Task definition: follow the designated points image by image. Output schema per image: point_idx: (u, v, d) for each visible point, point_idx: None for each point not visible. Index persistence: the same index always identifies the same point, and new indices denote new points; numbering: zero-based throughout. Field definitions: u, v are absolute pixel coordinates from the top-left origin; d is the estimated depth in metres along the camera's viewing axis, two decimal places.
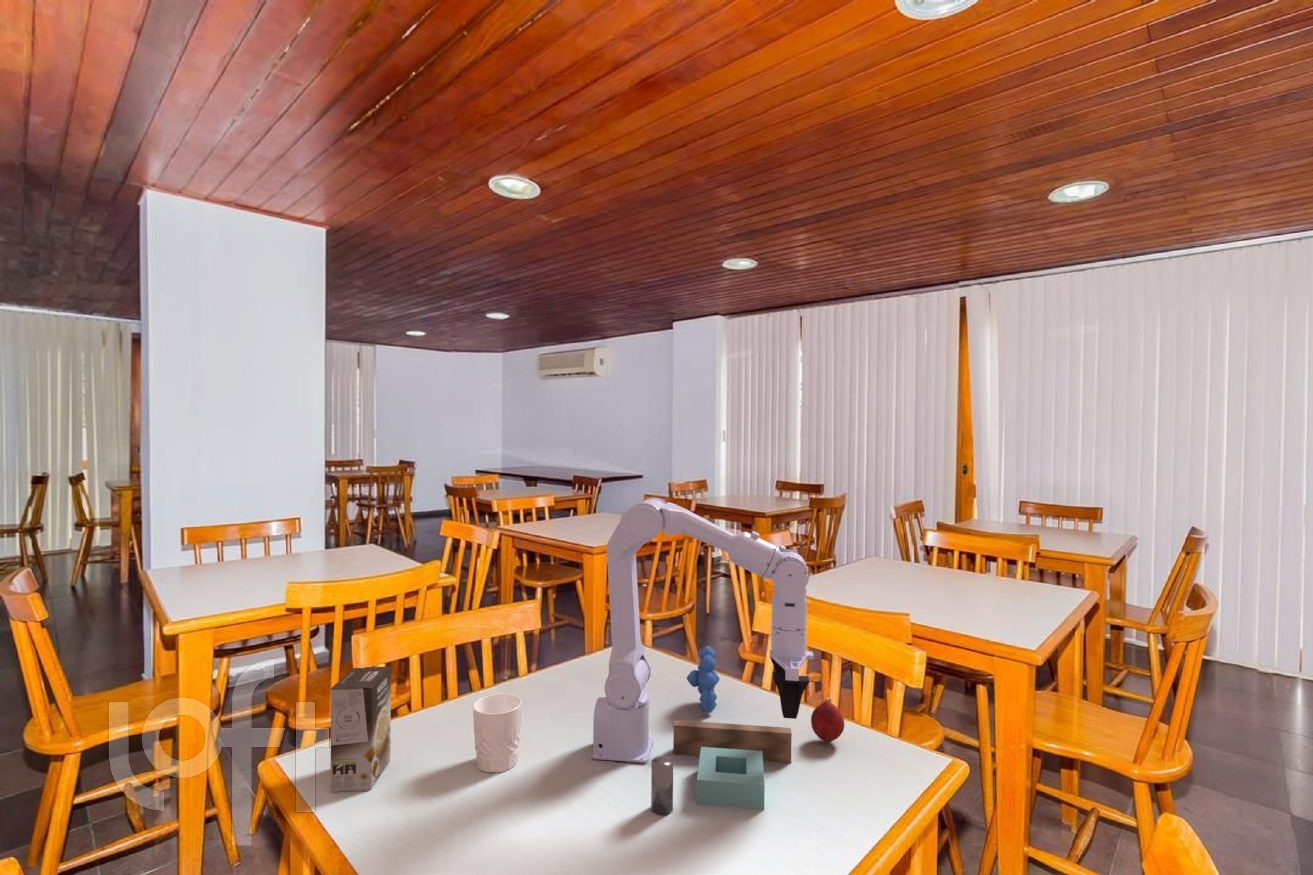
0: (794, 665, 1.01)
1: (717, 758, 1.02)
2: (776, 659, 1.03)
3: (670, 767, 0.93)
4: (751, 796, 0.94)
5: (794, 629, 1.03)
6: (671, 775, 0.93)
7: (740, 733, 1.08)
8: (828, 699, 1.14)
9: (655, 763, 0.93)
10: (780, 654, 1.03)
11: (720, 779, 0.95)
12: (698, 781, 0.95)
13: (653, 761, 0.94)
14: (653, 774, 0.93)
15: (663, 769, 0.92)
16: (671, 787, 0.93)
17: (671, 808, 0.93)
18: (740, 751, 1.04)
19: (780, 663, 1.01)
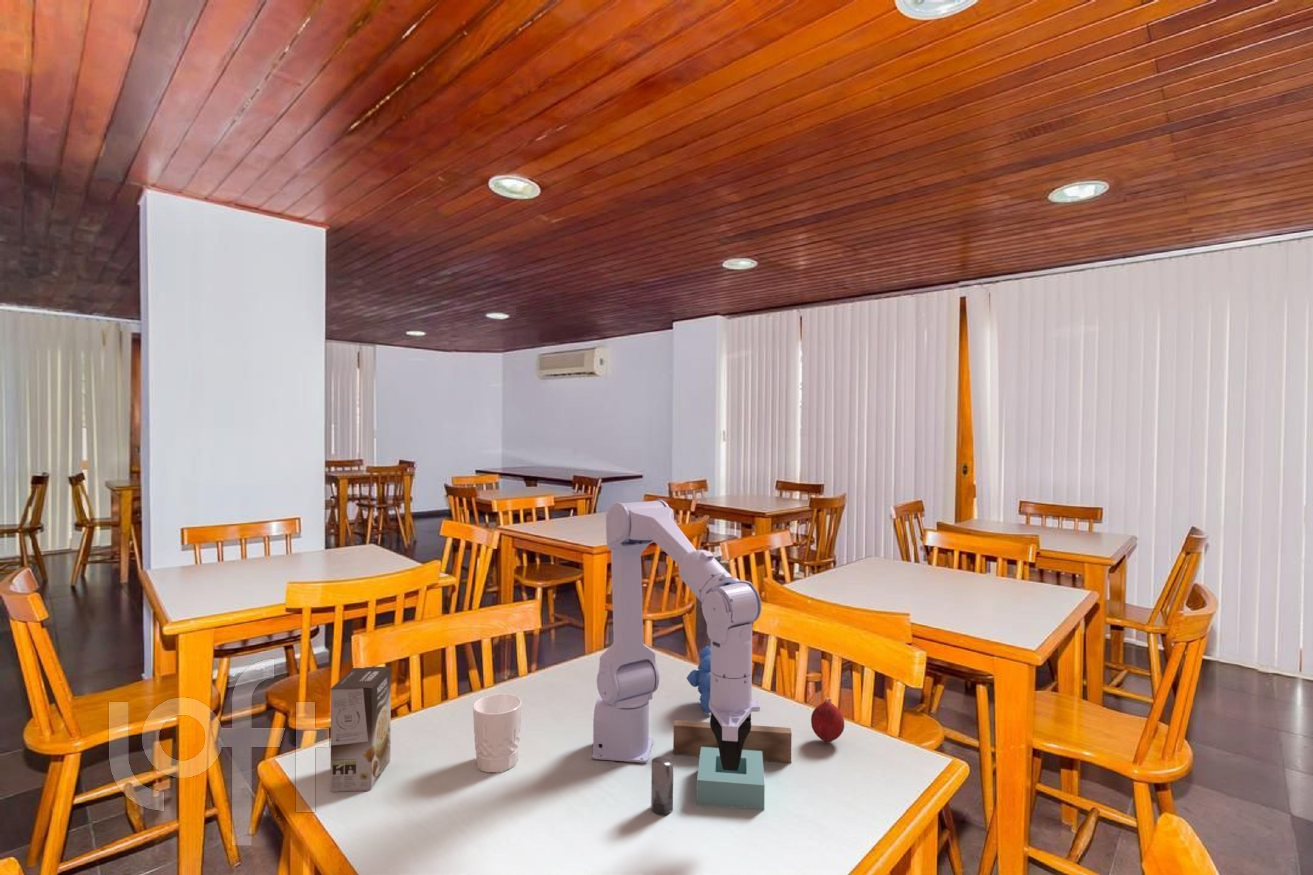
0: (734, 721, 0.84)
1: (717, 758, 1.02)
2: (714, 712, 0.86)
3: (670, 767, 0.93)
4: (751, 796, 0.94)
5: (719, 674, 0.86)
6: (671, 775, 0.93)
7: None
8: (828, 699, 1.14)
9: (655, 763, 0.93)
10: (719, 706, 0.86)
11: (720, 779, 0.95)
12: (698, 781, 0.95)
13: (654, 761, 0.94)
14: (653, 774, 0.93)
15: (663, 769, 0.92)
16: (671, 787, 0.93)
17: (671, 808, 0.93)
18: None
19: (718, 718, 0.84)
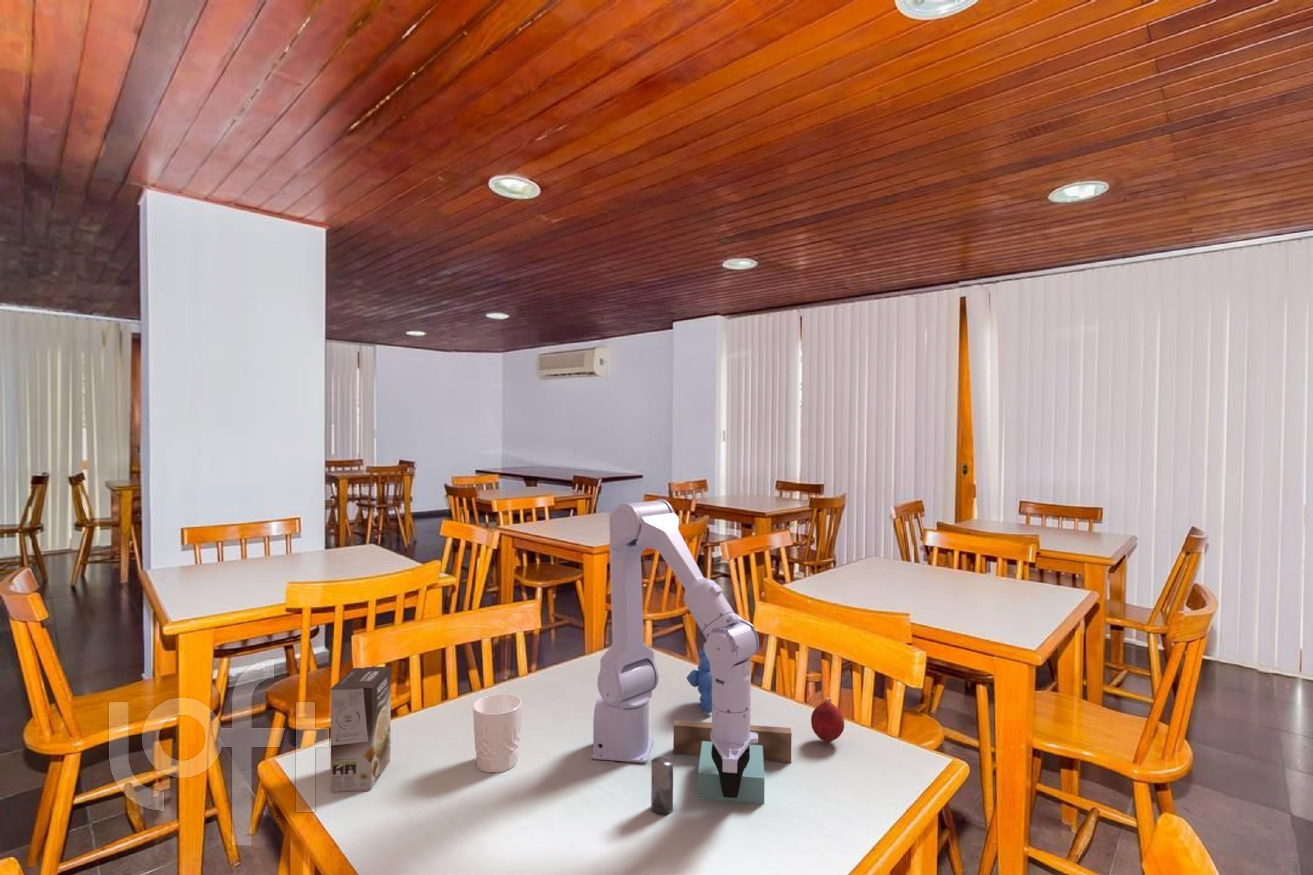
0: (734, 753, 0.90)
1: None
2: (715, 744, 0.92)
3: (670, 767, 0.93)
4: (751, 789, 0.96)
5: (724, 710, 0.92)
6: (671, 775, 0.93)
7: None
8: (828, 699, 1.14)
9: (655, 763, 0.94)
10: (720, 738, 0.93)
11: None
12: (699, 774, 0.97)
13: (653, 761, 0.94)
14: (653, 774, 0.93)
15: (663, 769, 0.92)
16: (671, 787, 0.93)
17: (671, 808, 0.93)
18: None
19: (718, 750, 0.91)
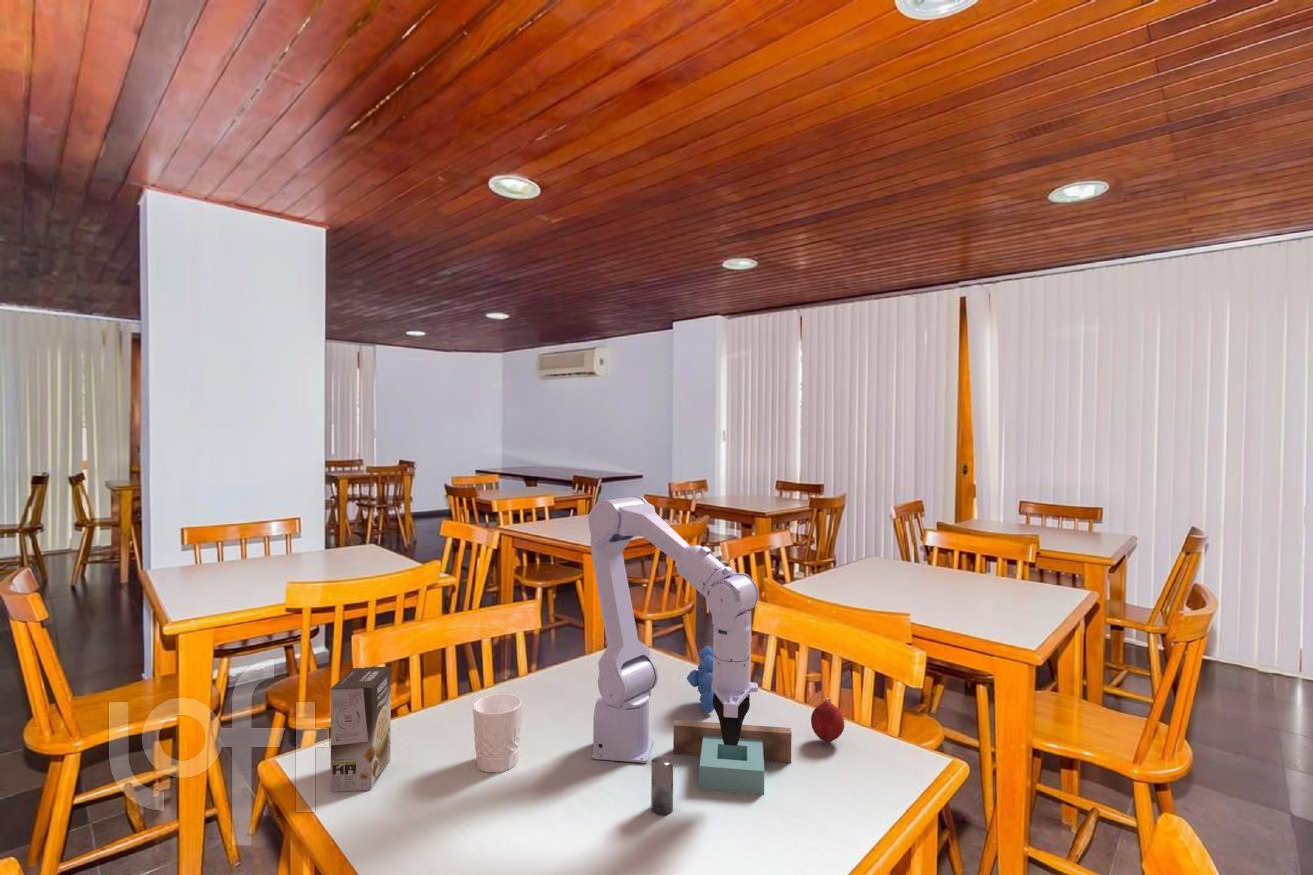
0: (734, 700, 0.93)
1: (719, 746, 1.06)
2: (716, 692, 0.95)
3: (670, 767, 0.93)
4: (751, 781, 0.98)
5: (726, 659, 0.95)
6: (671, 775, 0.93)
7: (740, 733, 1.08)
8: (828, 699, 1.14)
9: (655, 763, 0.93)
10: (721, 687, 0.95)
11: (722, 765, 0.99)
12: (701, 767, 0.99)
13: (653, 761, 0.94)
14: (653, 774, 0.93)
15: (663, 769, 0.92)
16: (671, 787, 0.93)
17: (671, 808, 0.93)
18: (741, 739, 1.08)
19: (719, 697, 0.93)
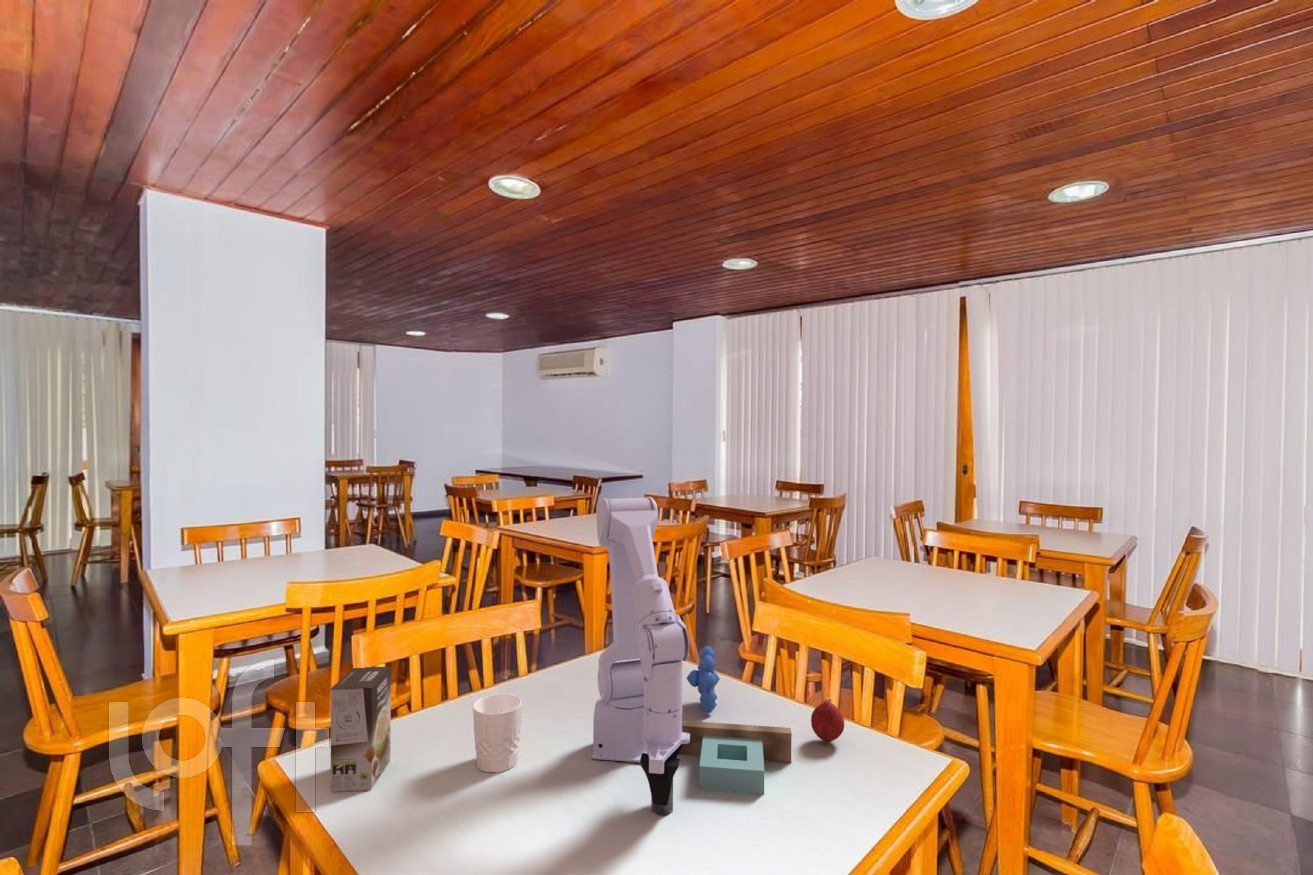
0: (662, 754, 0.89)
1: (719, 746, 1.06)
2: (645, 745, 0.91)
3: None
4: (751, 781, 0.98)
5: (647, 707, 0.92)
6: None
7: (740, 733, 1.08)
8: (828, 699, 1.14)
9: None
10: (650, 738, 0.92)
11: (722, 765, 0.99)
12: (701, 767, 0.99)
13: None
14: None
15: None
16: (671, 787, 0.93)
17: (671, 808, 0.93)
18: (741, 739, 1.08)
19: (647, 751, 0.90)
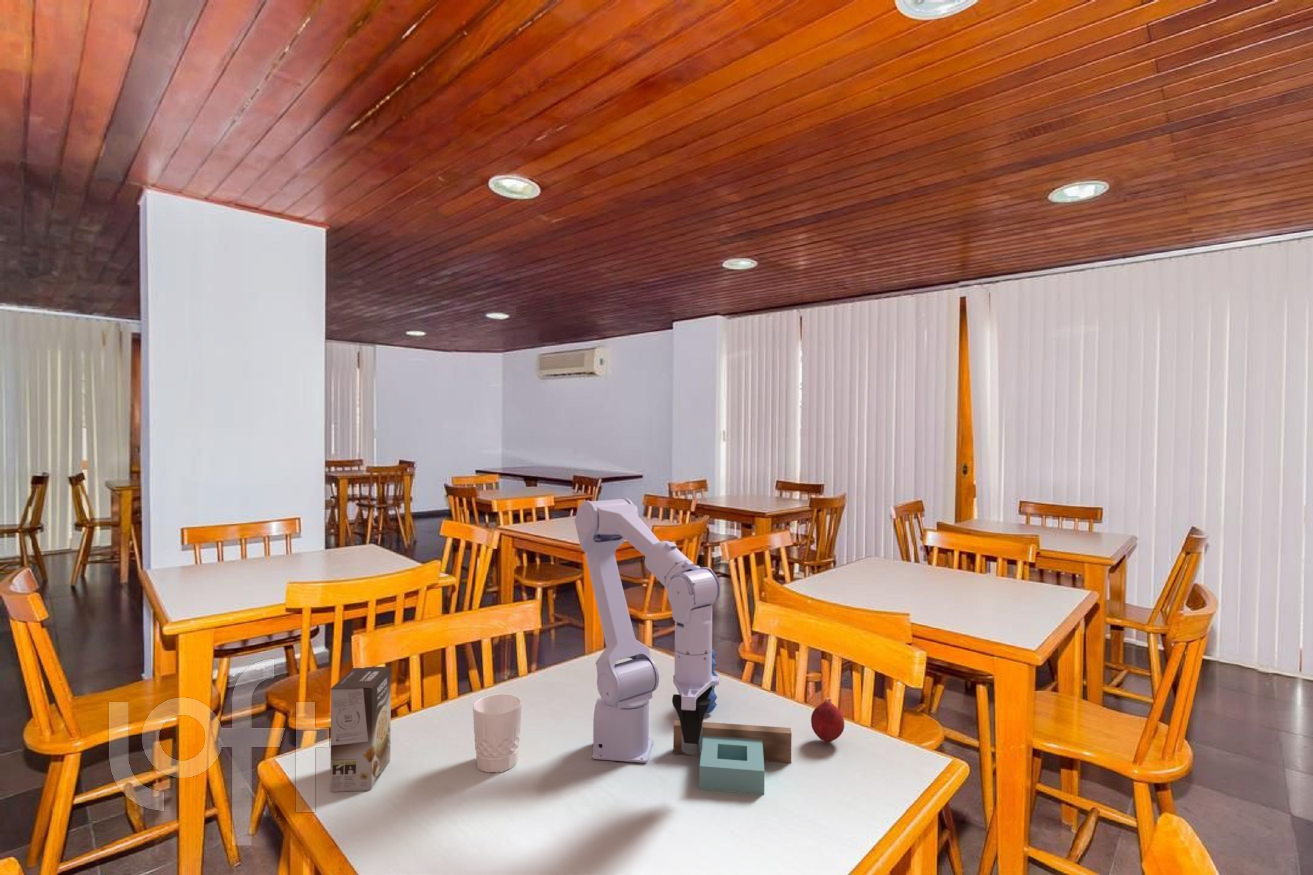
0: (693, 692, 0.93)
1: (719, 746, 1.06)
2: (676, 685, 0.95)
3: None
4: (752, 781, 0.98)
5: (683, 652, 0.95)
6: None
7: (740, 733, 1.08)
8: (828, 699, 1.14)
9: None
10: (681, 680, 0.96)
11: (722, 765, 0.99)
12: (701, 767, 0.99)
13: None
14: None
15: None
16: (701, 727, 0.97)
17: (701, 747, 0.97)
18: (741, 739, 1.08)
19: (679, 690, 0.94)
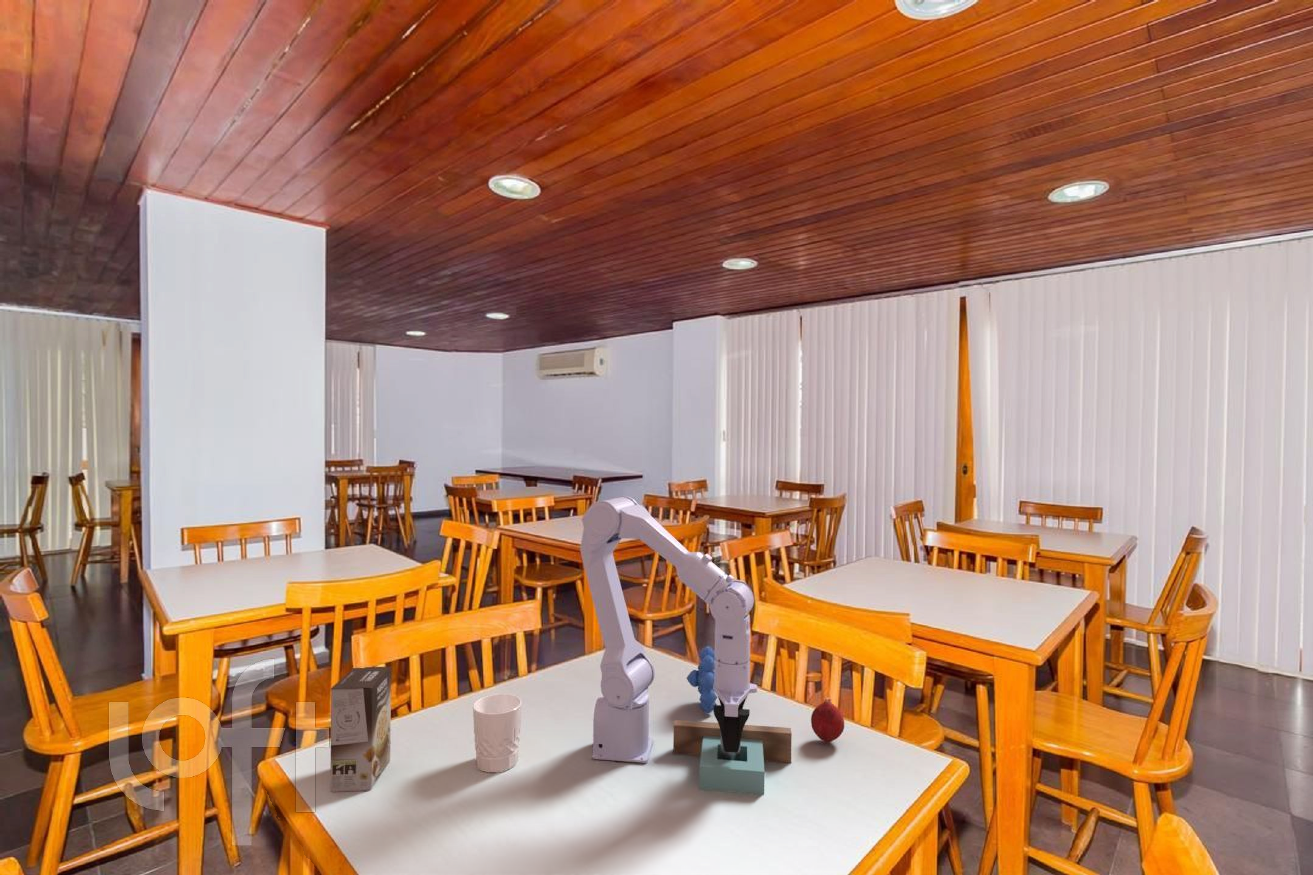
0: (735, 700, 0.98)
1: (719, 746, 1.06)
2: (718, 693, 1.01)
3: None
4: (751, 782, 0.98)
5: (732, 662, 1.01)
6: None
7: None
8: (828, 699, 1.14)
9: None
10: (722, 688, 1.01)
11: (722, 766, 0.99)
12: (701, 768, 0.99)
13: None
14: None
15: None
16: (739, 750, 1.03)
17: None
18: (741, 740, 1.08)
19: (721, 698, 0.99)
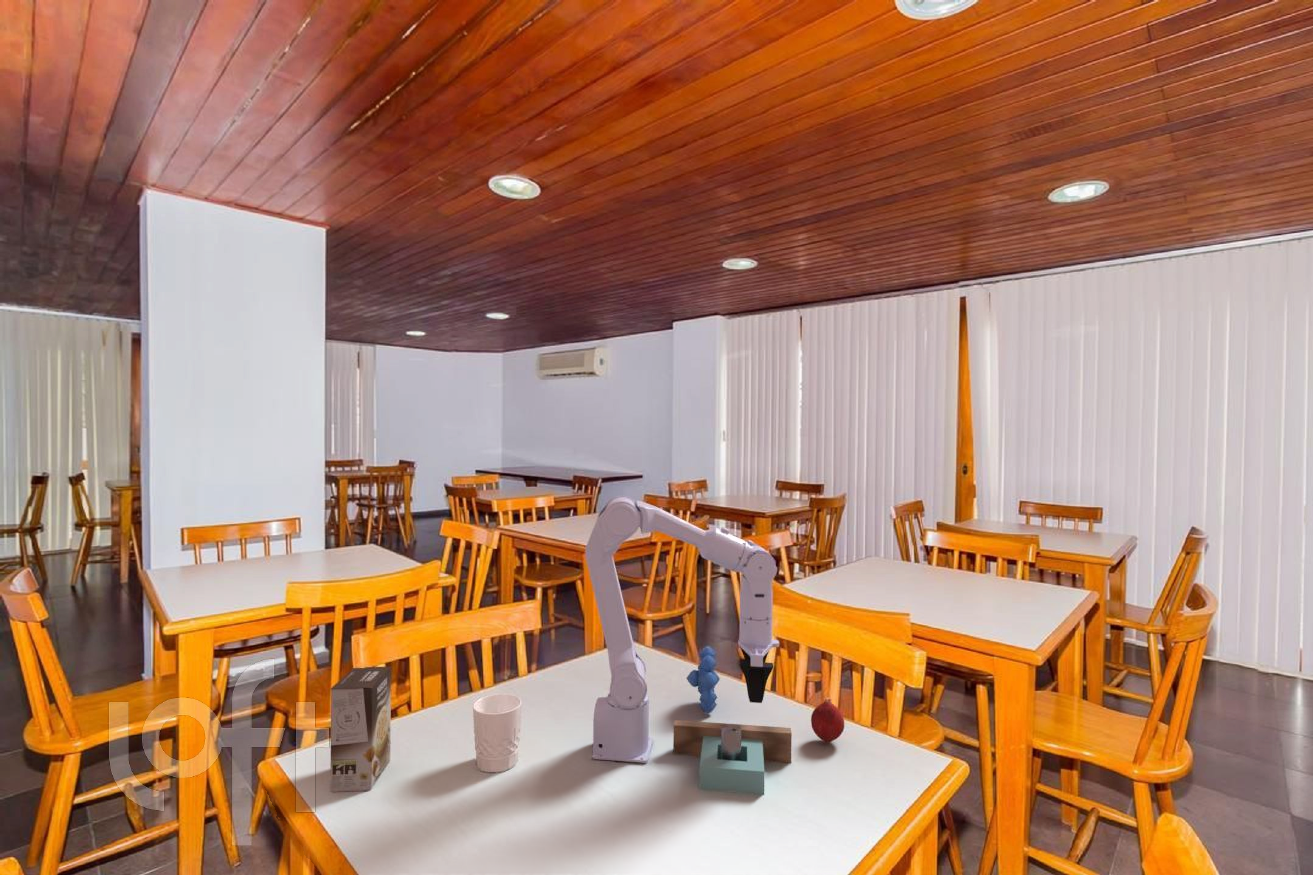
0: (759, 652, 1.07)
1: (719, 746, 1.06)
2: (743, 647, 1.09)
3: (739, 732, 1.02)
4: (751, 782, 0.98)
5: (764, 618, 1.09)
6: (740, 739, 1.03)
7: None
8: (828, 699, 1.14)
9: (725, 729, 1.03)
10: (747, 642, 1.10)
11: (722, 766, 0.99)
12: (701, 768, 0.99)
13: (723, 728, 1.03)
14: (724, 739, 1.02)
15: (734, 734, 1.02)
16: (740, 750, 1.03)
17: None
18: (741, 740, 1.08)
19: (746, 650, 1.08)
